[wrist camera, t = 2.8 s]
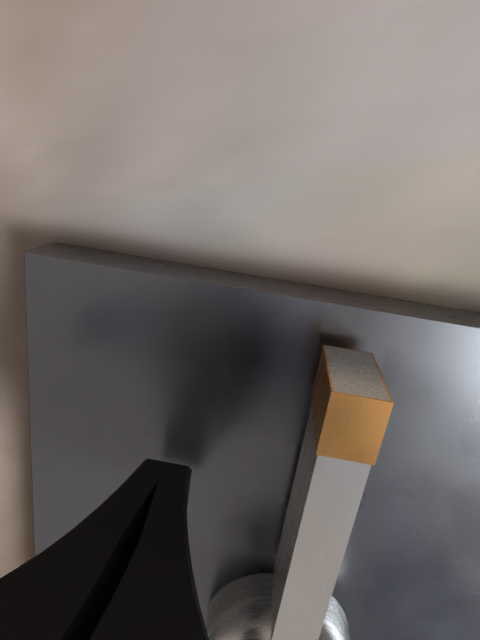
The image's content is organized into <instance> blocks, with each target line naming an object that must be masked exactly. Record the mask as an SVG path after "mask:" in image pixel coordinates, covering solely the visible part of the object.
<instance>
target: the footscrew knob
mask: <svg viewBox="0 0 480 640" xmlns="http://www.w3.org/2000/svg"><path fill="white" fill-rule="evenodd" d="M393 404H394V402H393V400H392V397H391V395H390V393H389V390H388V388H387V386H386V383H385V381H384V379H383V376H382V374H381V372H380V369H379V367H378V364H377V362H376V360H375V357H374V355H373V353H369V352H363V351H358V350H352V349H346V348H340V347H334V346H329V345H323V346H322V351H321V355H320V359H319V364H318V368H317V372H316V377H315V381H314V386H313V390H312V394H311V408H310V412H309V417H308V421H307V425H306V430H305V434H304V438H303V443H302V447H301V452H300V456H299V460H298V465H297V469H296V473H295V478H294V482H293V486H292V491H291V495H290V499H289V504H288V508H287V512H286V517H285V521H284V525H283V530H282V534H281V538H280V543H279V547H278V551H277V556H276V560H275V564H274V569H273V573H260V574H253V575H248V576H244V577H241V578H239V579H236V580H234V581H232V582H230V583H228V584H226V585H225V586H224V587H222V588H221V589H220V590H219V591H218V592H217V593H216V594H215V595H214V597H213V598H212V600H211V602H210V604H209V607H208V611H207V616H206V621H205V626H206V630H207V634H208V637H209V640H350V635H349V627H348V620H347V618H346V615H345V612H344V611H343V609H342V607H341V606H340V604H339V603H338V602H337V600H336V599H335V598H334V597H333V596H332V593H333V590H334V587H335V583H336V580H337V577H338V574H339V570H340V567H341V564H342V560H343V557H344V554H345V551H346V547H347V544H348V541H349V537H350V534H351V531H352V528H353V524H354V521H355V518H356V514H357V511H358V508H359V505H360V501H361V498H362V495H363V491H364V488H365V485H366V482H367V478H368V475H369V472H370V469H371V465H375V463H376V460H377V456H378V453H379V450H380V447H381V443H382V440H383V437H384V434H385V430H386V427H387V424H388V421H389V417H390V414H391V411H392V408H393Z"/></svg>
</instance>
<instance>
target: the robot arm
mask: <svg viewBox="0 0 480 640" xmlns="http://www.w3.org/2000/svg"><path fill="white" fill-rule="evenodd" d="M191 475H192V470H191V468H190V467H189V466H185V465H180V464H175V463H169V462H164V461H159V460H153V459H146V460H144V461H143V462H142V463H141V465H140V466H139V467H138V468H137V469H136V470H135V471H134V472H133V473H132V474H131V475H130V477H129V478H128V479H127V480H126V481H125V482H124V483H123V484H122V485H121V486H120V487H119V488H118V489H117V490H116V491H115V492H114V493H112V494H111V495H110V496H109V497H108V498H107V499H106V500H105V501H104V502H103V503H102V504H101V505H100V506H99V507H98V508H96V509H95V510H94V511H93V512H92V513H91V514H89V515H88V516H87V517H86V518H85V519H84V520H82V521H81V522H80V523H79V524H78V525H76V526H75V527H74V528H73V529H72V530H70V531H69V532H68V533H67V534H65V535H64V536H63V537H61V538H60V539H59V540H57V541H56V542H55V543H53V544H52V545H51V546H49V547H48V548H46V549H45V550H44V551H42V552H41V553H39V554H38V555H36V556H35V557H33V558H32V559H30V560H29V561H27V562H26V563H24V564H23V565H21V566H20V567H18V568H17V569H15V570H13V571H12V572H10V573H8V574H7V575H5V576H4V577H2V578H0V640H209V637H208V634H207V630H206V626H205V622H204V619H203V615H202V611H201V608H200V604H199V599H198V595H197V590H196V585H195V580H194V575H193V569H192V563H191V556H190V548H189V539H188V525H187V507H188V499H189V491H190V483H191Z"/></svg>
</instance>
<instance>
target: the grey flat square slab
mask: <svg viewBox="0 0 480 640" xmlns="http://www.w3.org/2000/svg"><path fill="white" fill-rule="evenodd" d="M24 259H25V288H26V316H27V345H28V374H29V403H30V432H31V461H32V489H33V518H34V547H35V556H36V555H38V554H39V553H41V552H42V551H44V550H45V549H46V548H48V547H49V546H51V545H52V544H53V543H55V542H56V541H57V540H59V539H60V538H61V537H63V536H64V535H65V534H67V533H68V532H69V531H70V530H72V529H73V528H74V527H75V526H76V525H78V524H79V523H80V522H81V521H82V520H84V519H85V518H86V517H87V516H88V515H89V514H91V513H92V512H93V511H94V510H95V509H96V508H98V507H99V506H100V505H101V504H102V503H103V502H104V501H105V500H106V499H107V498H108V497H109V496H110V495H111V494H112V493H114V492H115V491H116V490H117V489H118V488H119V487H120V486H121V485H122V484H123V483H124V482H125V481H126V480H127V479H128V478H129V477H130V475H131V474H132V473H133V472H134V471H135V470H136V469H137V468H138V467H139V466H140V465H141V463H142V462H143V461H144V460H146V459H153V460H159V461H164V462H169V463H175V464H180V465H185V466H189V467H190V468H191V470H192V475H191V483H190V491H189V499H188V507H187V525H188V539H189V548H190V556H191V563H192V569H193V575H194V580H195V585H196V590H197V595H198V599H199V604H200V608H201V611H202V615H203V619H204V622H205V621H206V616H207V611H208V607H209V604H210V602H211V600H212V598H213V597H214V595H215V594H216V593H217V592H218V591H219V590H220V589H221V588H222V587H224V586H225V585H226V584H228V583H230V582H232V581H234V580H236V579H239V578H241V577H244V576H248V575H253V574H260V573H273V569H274V564H275V560H276V556H277V551H278V547H279V543H280V538H281V534H282V530H283V525H284V521H285V517H286V512H287V508H288V504H289V499H290V495H291V491H292V486H293V482H294V478H295V473H296V469H297V465H298V460H299V456H300V452H301V447H302V443H303V438H304V434H305V430H306V425H307V421H308V417H309V412H310V408H311V394H312V390H313V386H314V381H315V377H316V372H317V368H318V364H319V359H320V355H321V351H322V346H323V345H329V346H334V347H340V348H346V349H352V350H358V351H363V352H369V353H373V355H374V357H375V360H376V362H377V364H378V367H379V369H380V372H381V374H382V376H383V379H384V381H385V383H386V386H387V388H388V390H389V393H390V395H391V397H392V400H393V402H394V404H393V408H392V411H391V414H390V417H389V421H388V424H387V427H386V430H385V434H384V437H383V440H382V443H381V447H380V450H379V453H378V456H377V460H376V463H375V465H371V469H370V472H369V475H368V478H367V482H366V485H365V488H364V491H363V495H362V498H361V501H360V505H359V508H358V511H357V514H356V518H355V521H354V524H353V528H352V531H351V534H350V537H349V541H348V544H347V547H346V551H345V554H344V557H343V560H342V564H341V567H340V570H339V574H338V577H337V580H336V583H335V587H334V590H333V593H332V596H333V597H334V598H335V599H336V600H337V602H338V603H339V604H340V606H341V607H342V609H343V611H344V612H345V615H346V618H347V620H348V627H349V635H350V640H480V313H475V312H469V311H463V310H457V309H451V308H445V307H439V306H433V305H427V304H421V303H415V302H409V301H403V300H397V299H391V298H385V297H378V296H372V295H366V294H360V293H354V292H348V291H342V290H336V289H330V288H324V287H318V286H312V285H306V284H300V283H294V282H288V281H282V280H276V279H270V278H264V277H258V276H252V275H246V274H239V273H233V272H227V271H221V270H215V269H209V268H203V267H197V266H191V265H185V264H179V263H173V262H167V261H161V260H155V259H149V258H143V257H137V256H131V255H125V254H119V253H113V252H107V251H100V250H94V249H88V248H82V247H76V246H70V245H64V244H58V243H49V244H46V245H44V246H41V247H38V248H35V249H32V250H29V251H26V252H24Z"/></svg>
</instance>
